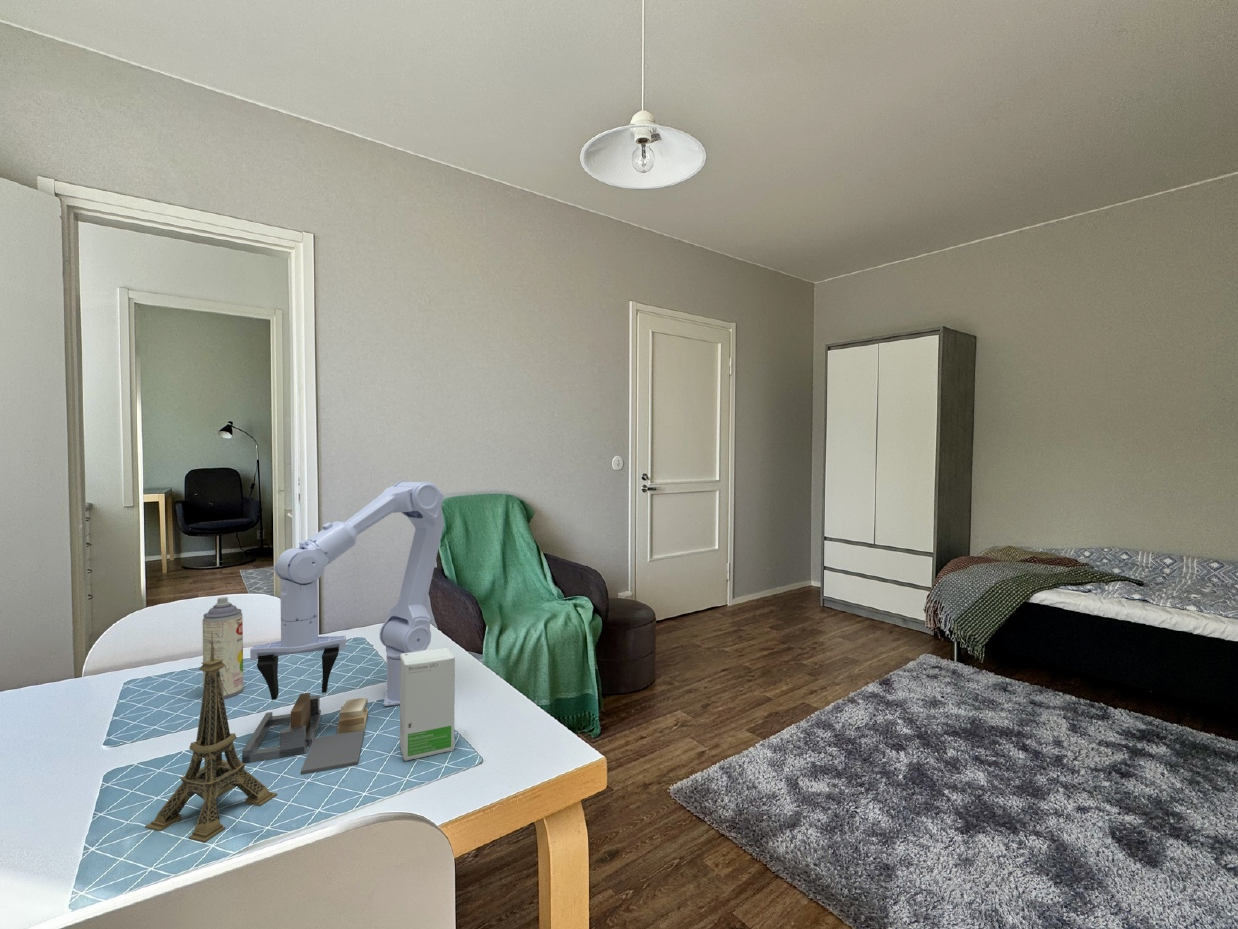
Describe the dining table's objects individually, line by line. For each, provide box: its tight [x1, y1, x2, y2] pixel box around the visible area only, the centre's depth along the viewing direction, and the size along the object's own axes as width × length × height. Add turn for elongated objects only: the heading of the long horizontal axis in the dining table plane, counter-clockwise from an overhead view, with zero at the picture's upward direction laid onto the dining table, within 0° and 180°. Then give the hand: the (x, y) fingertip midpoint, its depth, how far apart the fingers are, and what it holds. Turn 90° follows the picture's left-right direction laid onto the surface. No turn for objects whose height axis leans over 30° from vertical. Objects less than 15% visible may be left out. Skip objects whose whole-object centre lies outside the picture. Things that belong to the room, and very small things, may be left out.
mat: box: [300, 730, 366, 775], centre depth 93 cm, size 8×11×1 cm
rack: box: [241, 694, 322, 764], centre depth 98 cm, size 9×15×4 cm, turn 19°
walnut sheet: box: [290, 692, 312, 734], centre depth 99 cm, size 2×8×6 cm, turn 19°
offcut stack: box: [336, 697, 369, 735], centre depth 103 cm, size 4×7×3 cm, turn 19°
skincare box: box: [399, 647, 456, 762], centre depth 94 cm, size 8×7×16 cm
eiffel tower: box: [144, 631, 278, 843], centre depth 78 cm, size 11×11×25 cm
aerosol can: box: [201, 596, 244, 700], centre depth 117 cm, size 7×7×20 cm
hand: (300, 694), depth 99 cm, fingers open, 7 cm apart
